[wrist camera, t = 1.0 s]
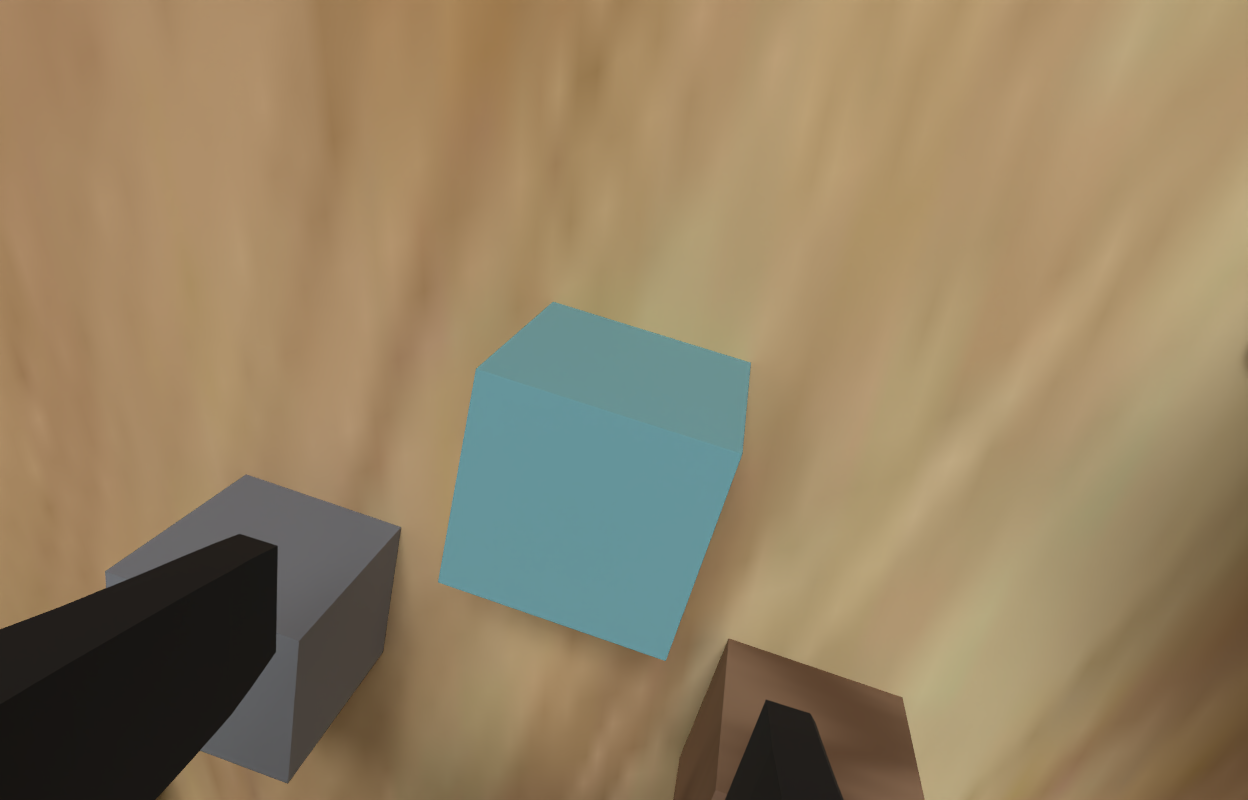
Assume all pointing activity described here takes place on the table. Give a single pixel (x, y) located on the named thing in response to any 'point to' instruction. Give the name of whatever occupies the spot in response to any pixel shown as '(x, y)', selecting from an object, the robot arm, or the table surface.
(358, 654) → the charcoal block
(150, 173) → the table surface
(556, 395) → the teal block
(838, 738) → the walnut block
